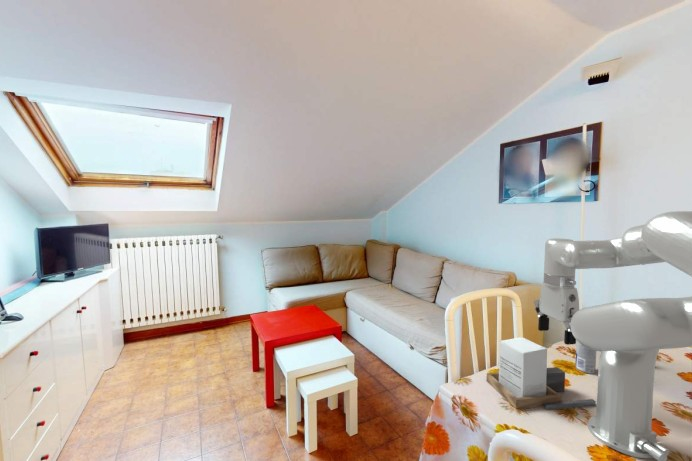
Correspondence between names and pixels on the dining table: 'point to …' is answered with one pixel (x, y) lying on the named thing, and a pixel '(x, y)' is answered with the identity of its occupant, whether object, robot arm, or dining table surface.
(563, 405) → the lane rails
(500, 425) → the dining table surface
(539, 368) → the supplement box
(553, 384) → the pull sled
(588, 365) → the energy drink
